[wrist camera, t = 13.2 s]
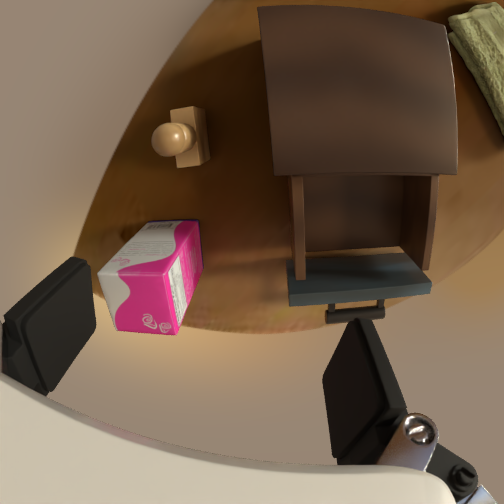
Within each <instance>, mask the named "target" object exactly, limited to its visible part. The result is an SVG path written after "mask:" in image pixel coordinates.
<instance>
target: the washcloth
mask: <svg viewBox="0 0 504 504" xmlns="http://www.w3.org/2000/svg"><path fill="white" fill-rule="evenodd" d="M448 21H449V22H450V23H449V25H450V28H451V29H452V30H453V32H451V33H449V34H447V35H448V37H449V39H450V42H451V43H452V44H453V45H454V47H455V48H456V50H457V51H458V53H459V55H461V57H462V58H463V60H464V61H465V64H466V66H467V68H468V69H469V70H470V71H471V73H472V74H473V76H474V78H475V80H476V82H477V84H478V85H479V87H480V89H481V91H482V92H483V94H484V97H485V98H486V100H487V102H488V104H489V106H490V108H491V110H492V112H493V115H494V116H495V119H496V120H497V122H498V125H499V127H500V128H501V132H502V134H503V135H504V9H503V8H502V7H501V6H500V5H499V4H497V3H496V2H493V3H490V4H481V5H476V6H474V7H472V8H471V9H470V10H469V11H468V12H467V13H464V14H461V15H454V16H451V17H449V18H448Z"/></svg>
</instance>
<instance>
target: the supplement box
mask: <svg viewBox="0 0 504 504" xmlns="http://www.w3.org/2000/svg"><path fill="white" fill-rule="evenodd" d="M203 268H204V267H203V258H202V248H201V239H200V229H199V221H198V220H164V221H149V222H148V223H147V224H146V225H145V226H144V227H143V228H142V229H141V230H140V231H138V232H137V233H136V234H135V235H134V236H133V237H132V238H131V239H130V240H129V241H128V242H127V243H126V244H125V245H124V246H123V247H122V248H121V249H120V250H119V251H118V252H117V253H116V254H115V255H114V256H113V257H112V258H111V259H110V260H109V261H108V262H107V263H106V264H105V265H104V267H103V268H102V269H101V270H100V271H99V272H98V273H97V275H98V278H99V281H100V284H101V287H102V291H103V294H104V297H105V300H106V303H107V305H108V309H109V312H110V315H111V318H112V321H113V324H114V327H115V329H116V330H117V331H128V332H138V333H151V334H164V335H177V333H178V331H179V328H180V326H181V323H182V320H183V318H184V315H185V313H186V310H187V308H188V305H189V303H190V300H191V298H192V295H193V293H194V290H195V288H196V285H197V283H198V281H199V278H200V276H201V273H202V271H203Z"/></svg>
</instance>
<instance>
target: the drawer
mask: <svg viewBox="0 0 504 504" xmlns="http://www.w3.org/2000/svg"><path fill="white" fill-rule="evenodd" d="M287 179H288V195H289V212H290V232H291V251H292V258H293V260H286V274H287V286H288V298H289V306H306V305H321V304H328V310H325V322H326V324H335V323H346V322H349V321H353V320H354V319H355V318H364V319H370V320H375V319H383V318H384V317H385V307H384V299H388V298H397V297H406V296H415V295H423V294H429V293H430V291H431V286H432V282H431V280H430V279H429V278H428V277H427V276H426V275H425V274H424V272H423V270H429V265H430V259H431V252H432V245H433V238H434V230H435V221H436V211H437V199H438V184H439V174H423V173H324V174H300V175H287ZM394 246H400V247H401V249H402V250H403V251H404V252H405V253H391V254H376V255H361V256H345V257H329V258H313V259H305V252H311V251H328V250H345V249H361V248H378V247H394ZM368 300H377V304H376V305H375V306H365V307H355V308H344V309H335V303H346V302H358V301H368Z"/></svg>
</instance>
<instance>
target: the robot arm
mask: <svg viewBox="0 0 504 504" xmlns="http://www.w3.org/2000/svg"><path fill="white" fill-rule="evenodd" d="M4 319H5V322H4V323H3V324H2V323H1V321H0V504H498V503H497V502H496V501H495V500H494V499H493V498H492V496H491V495H490V494H489V493H488V492H487V491H486V490H485V489H484V487H483V486H482V485H481V486H479V487H477V484H478V475H477V473H476V470H475V469H474V467H473V466H472V465H471V464H469V463H468V462H466V461H465V460H463V459H462V458H460V457H458V456H457V455H455V454H454V453H452V452H451V451H449V450H448V449H446V448H445V447H443V446H442V445H440V444H439V443H437V442H438V437H439V434H438V429H437V427H436V425H435V423H434V422H433V421H432V420H431V419H430V418H428V417H427V416H425V415H423V414H420V413H410V414H408V412H407V409H406V408H407V407H406V404H405V401H404V398H403V395H402V393H401V390H400V388H399V385H398V382H397V380H396V377H395V374H394V372H393V370H392V367H391V365H390V362H389V359H388V357H387V355H386V352H385V350H384V347H383V345H382V343H381V340H380V338H379V335H378V333H377V331H376V329H375V326H374V324H373V322H372V320H370V319H364V318H355V319H354V320H353V321H349V322H348V324H347V326H346V329H345V331H344V333H343V335H342V337H341V339H340V342H339V344H338V346H337V348H336V350H335V352H334V354H333V356H332V358H331V360H330V362H329V364H328V366H327V368H326V370H325V372H324V374H323V379H322V383H323V389H324V395H325V403H326V410H327V418H328V425H329V433H330V441H331V449H332V455H333V457H334V458H337V465H312V464H292V463H278V462H268V461H258V460H251V459H244V458H236V457H229V456H225V455H219V454H213V453H208V452H203V451H198V450H193V449H190V448H185V447H181V446H177V445H173V444H169V443H165V442H162V441H158V440H155V439H151V438H148V437H145V436H141V435H138V434H135V433H132V432H129V431H126V430H123V429H120V428H118V427H114V426H112V425H109V424H107V423H104V422H101V421H99V420H96V419H94V418H91V417H89V416H87V415H84V414H82V413H79V412H77V411H75V410H72V409H70V408H68V407H66V406H64V405H62V404H60V403H58V402H56V401H54V400H51V399H49V398H47V397H46V396H47V394H48V393H49V391H50V392H52V391H53V390H54V389H55V388H56V386H57V385H58V383H59V382H60V380H61V378H62V377H63V376H64V374H65V373H66V371H67V370H68V368H69V367H70V365H71V364H72V362H73V361H74V359H75V358H76V356H77V355H78V354H79V352H80V350H81V349H82V348H83V347H84V345H85V344H86V342H87V341H88V340H89V338H90V337H91V335H92V334H93V333H94V331H95V329H96V317H95V309H94V302H93V291H92V280H91V269H90V266H89V265H88V264H87V261H86V260H84V259H80V258H76V257H70V258H69V259H68V260H66V261H65V262H64V263H63V264H61V265H60V266H59V267H58V268H57V269H55V270H54V271H53V272H52V273H51V274H49V275H48V276H47V277H46V278H45V279H43V280H42V281H41V282H40V283H39V284H38V285H36V286H35V287H34V288H33V289H32V290H31V291H30V292H29V293H27V294H26V295H25V296H24V297H23V298H22V299H21V300H20V301H18V302H17V303H16V304H15V305H14V306H13V307H12V308H11V309H10V310H9V311H8V312H7V313H6V314H5V315H4Z"/></svg>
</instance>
